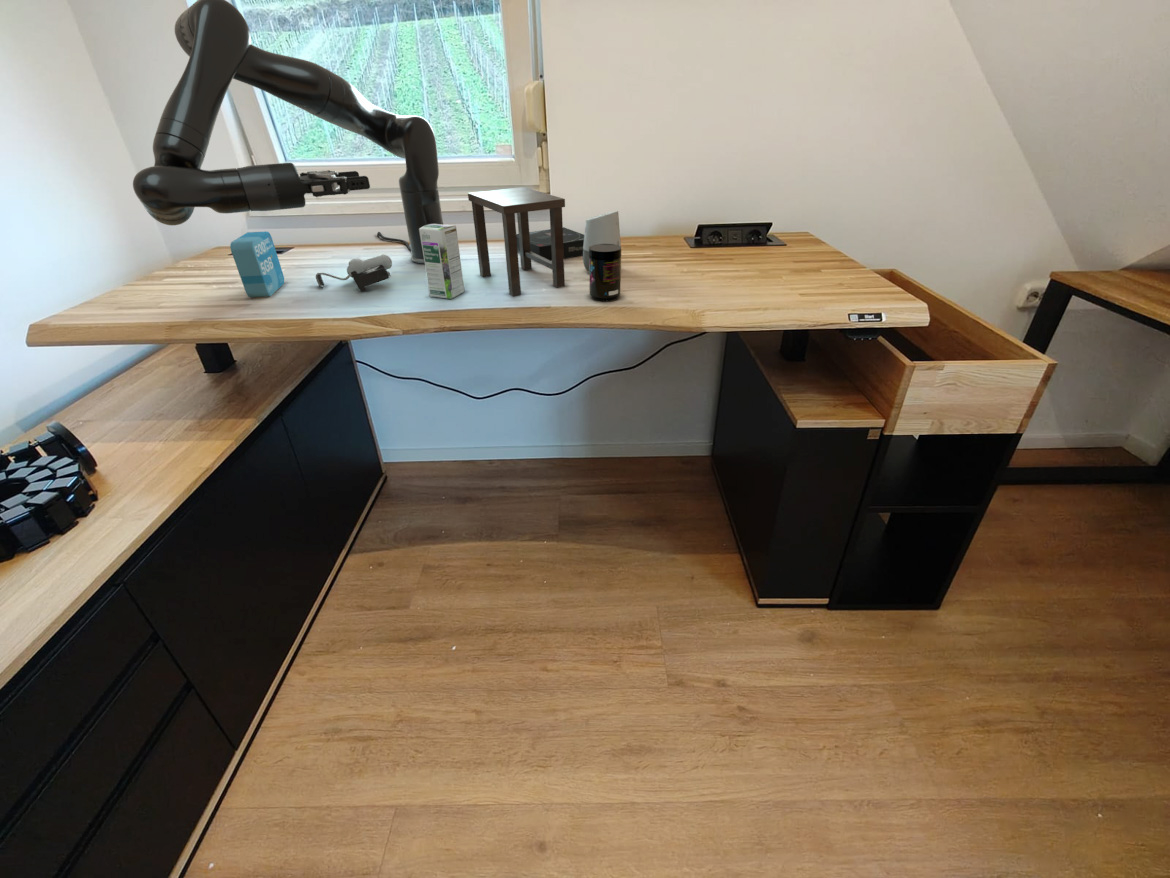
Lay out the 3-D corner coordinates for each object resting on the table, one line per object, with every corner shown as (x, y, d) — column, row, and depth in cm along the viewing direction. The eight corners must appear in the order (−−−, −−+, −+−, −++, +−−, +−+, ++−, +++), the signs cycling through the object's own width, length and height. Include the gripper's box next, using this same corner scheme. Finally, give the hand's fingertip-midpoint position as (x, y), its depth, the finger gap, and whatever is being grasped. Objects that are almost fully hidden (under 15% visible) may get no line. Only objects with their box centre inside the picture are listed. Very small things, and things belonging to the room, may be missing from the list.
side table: (477, 275, 135) (467, 192, 125) (529, 266, 141) (523, 186, 131) (511, 297, 121) (503, 206, 111) (567, 286, 126) (565, 198, 116)
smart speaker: (594, 264, 142) (594, 205, 134) (627, 268, 138) (628, 208, 130) (576, 273, 135) (574, 212, 127) (609, 278, 131) (610, 216, 123)
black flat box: (563, 241, 163) (562, 226, 161) (593, 253, 151) (593, 238, 149) (512, 249, 156) (511, 234, 154) (540, 262, 144) (539, 246, 142)
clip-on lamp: (316, 307, 126) (392, 285, 126) (301, 281, 122) (379, 258, 122) (327, 286, 135) (398, 266, 135) (313, 262, 131) (386, 241, 131)
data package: (269, 298, 123) (250, 242, 116) (247, 299, 122) (227, 243, 116) (286, 282, 133) (269, 229, 126) (266, 283, 132) (248, 230, 126)
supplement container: (606, 290, 124) (606, 241, 118) (627, 297, 119) (628, 247, 114) (583, 296, 120) (582, 247, 115) (603, 304, 116) (603, 253, 110)
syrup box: (429, 297, 122) (417, 227, 114) (444, 289, 126) (434, 222, 119) (450, 299, 120) (440, 229, 112) (465, 291, 124) (456, 223, 117)
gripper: (268, 168, 93) (367, 161, 100) (261, 160, 103) (351, 154, 110) (282, 215, 97) (376, 205, 104) (274, 203, 108) (360, 195, 114)
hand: (363, 179), depth 107 cm, fingers open, 8 cm apart
